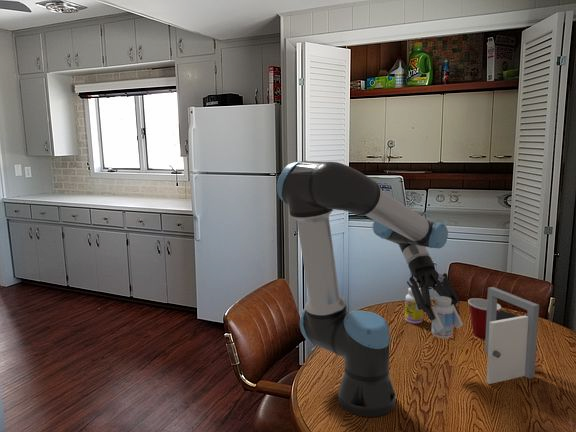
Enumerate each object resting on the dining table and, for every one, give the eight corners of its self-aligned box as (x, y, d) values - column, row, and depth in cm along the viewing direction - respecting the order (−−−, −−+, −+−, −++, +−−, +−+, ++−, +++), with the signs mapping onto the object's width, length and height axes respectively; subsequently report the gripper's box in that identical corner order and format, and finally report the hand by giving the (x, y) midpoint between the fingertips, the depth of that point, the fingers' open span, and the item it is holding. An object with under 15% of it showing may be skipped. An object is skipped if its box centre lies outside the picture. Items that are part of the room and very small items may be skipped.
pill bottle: (449, 330, 136) (451, 295, 134) (454, 339, 130) (456, 302, 128) (429, 330, 137) (430, 294, 135) (433, 338, 131) (434, 301, 129)
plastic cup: (503, 342, 152) (505, 309, 150) (469, 340, 154) (471, 307, 152) (495, 329, 162) (497, 298, 160) (463, 327, 164) (465, 296, 163)
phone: (476, 317, 172) (499, 309, 180) (476, 320, 172) (499, 312, 180) (495, 324, 165) (518, 315, 173) (495, 327, 165) (518, 318, 173)
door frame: (528, 378, 129) (533, 306, 125) (484, 352, 145) (487, 287, 142) (534, 377, 129) (539, 305, 126) (489, 351, 146) (493, 286, 142)
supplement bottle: (401, 318, 175) (402, 287, 172) (416, 316, 176) (417, 285, 174) (411, 325, 168) (411, 292, 166) (426, 322, 170) (427, 290, 168)
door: (521, 373, 130) (525, 315, 128) (528, 377, 128) (532, 318, 125) (486, 381, 127) (489, 321, 124) (492, 386, 124) (496, 325, 121)
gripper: (438, 263, 148) (470, 328, 135) (388, 269, 142) (416, 338, 129) (449, 251, 142) (483, 318, 130) (397, 256, 137) (428, 327, 124)
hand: (450, 328), depth 129 cm, fingers closed on pill bottle, 6 cm apart
